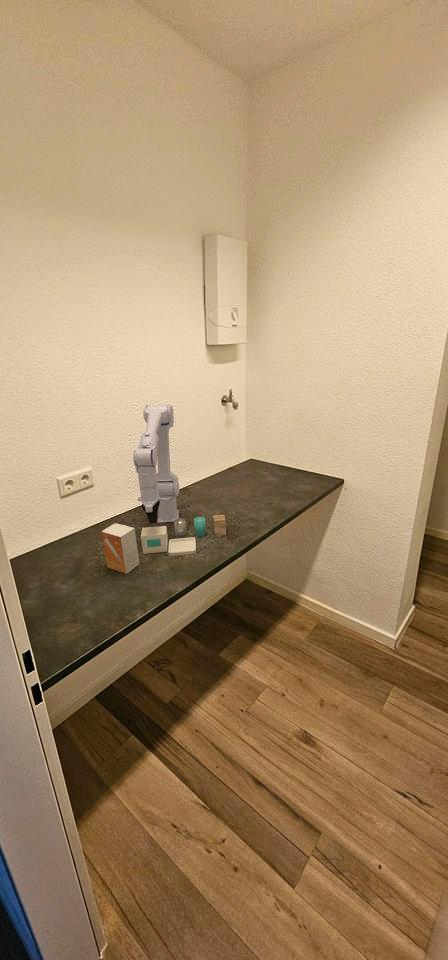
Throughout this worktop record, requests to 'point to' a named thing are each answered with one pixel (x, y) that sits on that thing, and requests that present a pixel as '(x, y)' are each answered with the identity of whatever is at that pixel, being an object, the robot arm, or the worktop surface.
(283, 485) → the worktop surface
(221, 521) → the oak block
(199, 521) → the cylinder
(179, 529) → the cylinder
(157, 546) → the block
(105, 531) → the small box
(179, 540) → the tray
